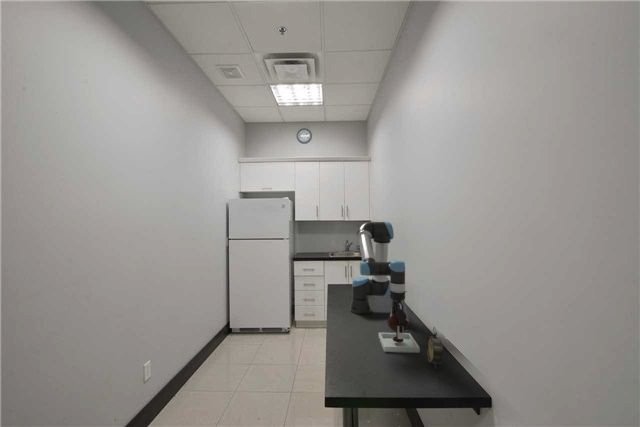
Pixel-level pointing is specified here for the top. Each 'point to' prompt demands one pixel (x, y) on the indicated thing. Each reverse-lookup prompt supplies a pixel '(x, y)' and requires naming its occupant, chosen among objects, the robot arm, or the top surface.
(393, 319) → the ice cream bowl
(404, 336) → the tray
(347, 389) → the top surface
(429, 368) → the top surface
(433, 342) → the alarm clock
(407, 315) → the soap bottle
